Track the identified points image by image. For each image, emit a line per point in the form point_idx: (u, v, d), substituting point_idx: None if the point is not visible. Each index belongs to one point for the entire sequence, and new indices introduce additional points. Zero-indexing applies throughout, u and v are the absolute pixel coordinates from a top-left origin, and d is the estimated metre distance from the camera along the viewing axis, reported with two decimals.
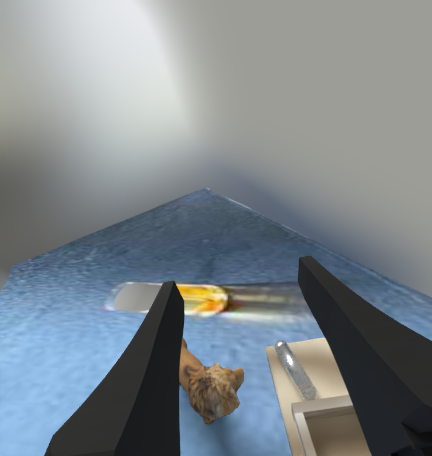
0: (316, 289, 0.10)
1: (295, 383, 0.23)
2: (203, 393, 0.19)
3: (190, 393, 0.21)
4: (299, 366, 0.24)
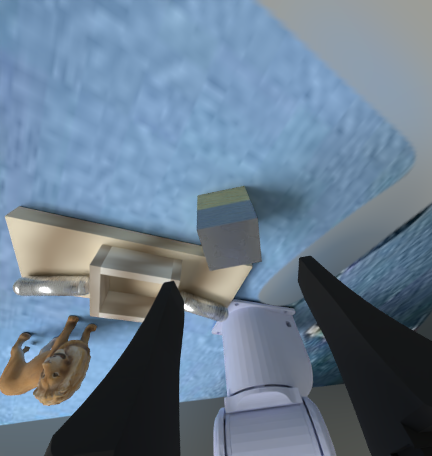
0: (316, 289, 0.10)
1: None
2: None
3: None
4: (52, 288, 0.18)
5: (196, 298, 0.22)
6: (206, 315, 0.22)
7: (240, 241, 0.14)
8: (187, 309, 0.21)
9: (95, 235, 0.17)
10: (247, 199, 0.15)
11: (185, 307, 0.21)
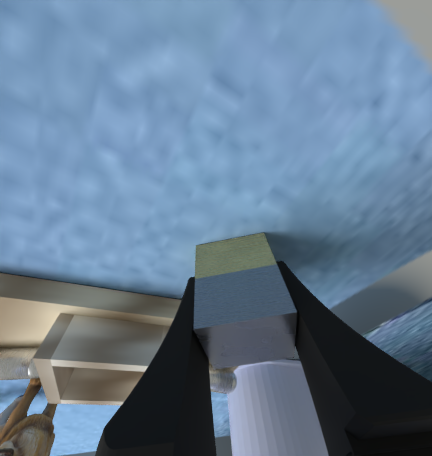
0: None
1: None
2: None
3: None
4: None
5: None
6: None
7: (264, 339, 0.09)
8: None
9: (48, 303, 0.12)
10: (272, 263, 0.10)
11: None
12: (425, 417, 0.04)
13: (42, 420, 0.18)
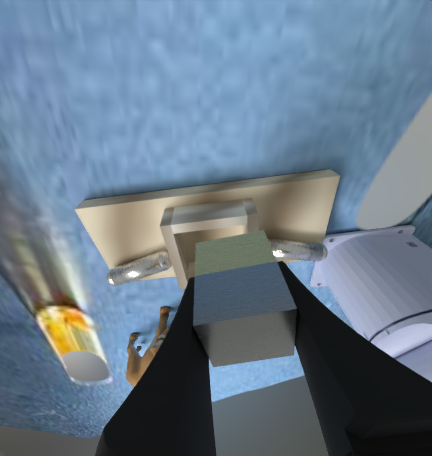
0: None
1: None
2: None
3: None
4: (138, 270, 0.18)
5: (282, 240, 0.18)
6: (301, 256, 0.18)
7: (264, 336, 0.09)
8: (276, 254, 0.18)
9: (154, 200, 0.16)
10: (272, 260, 0.10)
11: None
12: (425, 417, 0.04)
13: None
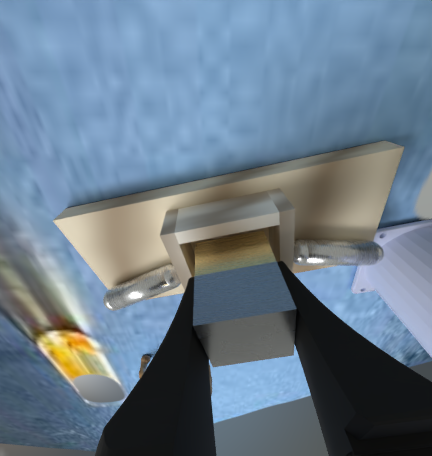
0: None
1: None
2: None
3: None
4: (140, 290, 0.15)
5: (322, 241, 0.14)
6: (349, 261, 0.14)
7: (264, 336, 0.09)
8: (316, 260, 0.14)
9: (152, 201, 0.12)
10: (272, 260, 0.10)
11: (312, 258, 0.14)
12: (425, 417, 0.04)
13: None
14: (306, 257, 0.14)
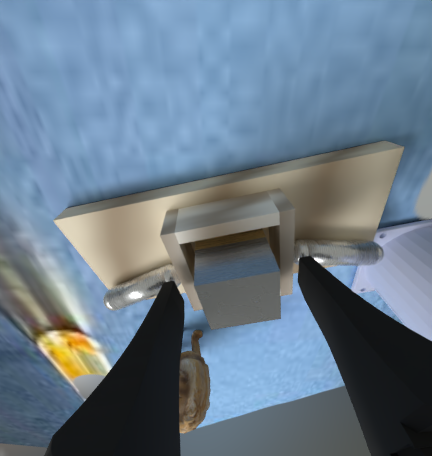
0: (316, 289, 0.10)
1: None
2: None
3: None
4: (140, 290, 0.15)
5: (322, 241, 0.14)
6: (349, 261, 0.14)
7: (254, 297, 0.10)
8: (316, 260, 0.14)
9: (152, 201, 0.12)
10: (262, 236, 0.11)
11: None
12: None
13: (192, 354, 0.20)
14: None
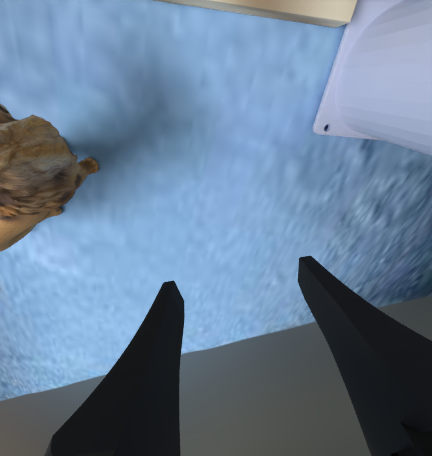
0: (316, 289, 0.10)
1: None
2: (21, 196, 0.10)
3: (41, 210, 0.12)
4: None
5: None
6: None
7: None
8: None
9: None
10: None
11: None
12: None
13: None
14: None
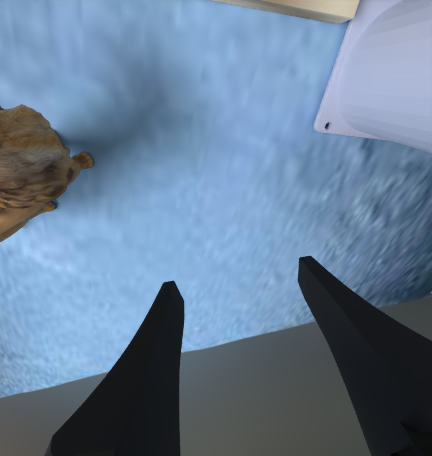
0: (316, 289, 0.10)
1: None
2: (9, 187, 0.09)
3: (31, 204, 0.11)
4: None
5: None
6: None
7: None
8: None
9: None
10: None
11: None
12: None
13: None
14: None
